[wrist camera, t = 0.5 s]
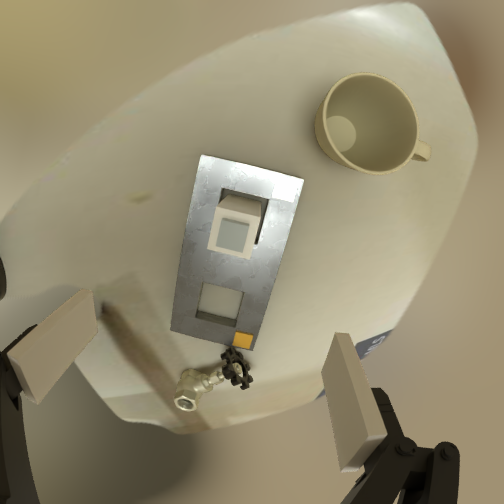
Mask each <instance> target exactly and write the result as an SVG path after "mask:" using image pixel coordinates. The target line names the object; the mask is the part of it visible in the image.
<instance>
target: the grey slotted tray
mask: <svg viewBox="0 0 504 504" xmlns="http://www.w3.org/2000/svg"><path fill="white" fill-rule="evenodd" d="M303 182H304V180H303V179H301V178H297V177H294V176H290V175H286V174H283V173H279V172H275V171H271V170H268V169H264V168H260V167H256V166H252V165H247V164H243V163H239V162H235V161H230V160H226V159H221V158H217V157H212V156H207V155H201V158H200V162H199V166H198V171H197V175H196V180H195V184H194V189H193V194H192V199H191V204H190V209H189V214H188V219H187V224H186V229H185V235H184V240H183V246H182V252H181V258H180V264H179V270H178V277H177V283H176V290H175V297H174V304H173V312H172V320H171V328H170V330H171V331H174V332H178V333H181V334H185V335H189V336H192V337H196V338H200V339H204V340H208V341H212V342H216V343H220V344H224V345H229V346H233V347H237V348H242V349H246V350H251V351H253V348H254V345H255V342H256V339H257V336H258V333H259V330H260V327H261V323H262V320H263V317H264V314H265V311H266V308H267V304H268V301H269V298H270V295H271V292H272V288H273V285H274V282H275V279H276V275H277V272H278V269H279V265H280V262H281V259H282V255H283V252H284V248H285V245H286V242H287V238H288V235H289V231H290V228H291V224H292V221H293V217H294V214H295V210H296V207H297V203H298V200H299V196H300V193H301V189H302V185H303ZM224 188H226V189H230V190H235V191H239V192H243V193H247V194H251V195H255V196H259V197H263V198H267V199H269V200H268V204H267V207H266V211H265V215H264V219H263V223H262V226H261V230H260V234H259V238H258V240H255V242H254V246H253V249H252V253H251V257H250V260H249V259H245V258H241V257H237V256H233V255H229V254H225V253H221V252H217V251H213V250H209V249H207V247H208V242H209V237H210V232H211V228H212V223H213V219H214V214H215V210H216V206H217V205H218V204H219V203H220V201H221V197H222V193H223V189H224ZM203 282H205V283H209V284H213V285H217V286H221V287H225V288H229V289H233V290H237V291H242V292H244V294H243V298H242V302H241V305H240V309H239V313H238V317H237V320H233V319H229V318H225V317H221V316H216V315H212V314H209V313H205V312H201V311H198V308H199V302H200V297H201V292H202V286H203Z"/></svg>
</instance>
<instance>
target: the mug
mask: <svg viewBox="0 0 504 504" xmlns="http://www.w3.org/2000/svg"><path fill="white" fill-rule="evenodd" d="M315 135H316V138H317V141H318V143H319V145H320V147H321V148H322V150H323V151H324V152H325V153H326V154H327V155H328V156H329V157H330V158H331V159H332V160H334V161H335V162H337V163H339V164H341V165H343V166H346V167H348V168H351V169H354V170H357V171H360V172H363V173H367V174H372V175H384V174H389V173H392V172H395V171H397V170H399V169H400V168H402V167H403V166H404V165H406V164H407V163H408V162H409V160H410V159H412V160H417V161H428V160H429V159H430V156H431V147H430V145H428V144H427V143H425V142H423V141H420V140H419V121H418V116H417V113H416V110H415V108H414V106H413V104H412V102H411V100H410V99H409V97H408V96H407V94H406V93H405V92H404V91H403V90H402V89H401V88H400V87H399V86H398V85H397V84H395V83H394V82H393V81H391V80H389V79H388V78H386V77H383V76H381V75H378V74H374V73H368V72H360V73H354V74H350V75H348V76H345V77H343V78H342V79H340V80H339V81H338V82H336V83H335V84H334V85H333V86H332V88H331V89H330V90H329V92H328V94H327V95H326V97H325V98H324V100H323V101H322V103H321V105H320V107H319V109H318V111H317V114H316V117H315Z"/></svg>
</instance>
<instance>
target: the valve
mask: <svg viewBox="0 0 504 504" xmlns="http://www.w3.org/2000/svg"><path fill="white" fill-rule="evenodd" d="M221 359H222V360H224V359H226V362H227V364H226V365H224V366H223V367H222V372H219V371H216V372H214V373H212V374H210V376H207V375H206V374H202V373H201V372H198V371H196V370H193V369H189V370H187V371H185V372H183V373H182V376H181V380H180V381H179V383H178V384H177V388H176V391H177V392H176V394H175V397H174V402H175V405H176V406H177V407H178V408H179V409H181V410H184V411H193V410H195V409H197V408H198V404H199V399H200V398H201V396H202V393H207V392H210V391H212V389H213V385H214V384H216V385H217V384H220V383H222V382H223V381H224V378H226V379H228V380H229V379H231V383H232V385H233V386H236V385H238V384H240V383H242V386H240V388H241V389H242V390H245V389H247V388H249V383H251V382H253V378H252V376H250V375H249V374H248V371H249V370H250V366H249V365H248V364H244V362H243V360H242V359H243V355H242V354H241V353H240V352H239V353H237V354H235V350H234V348H232V347H230V348H228V349H226V352H224V353H222V354H221ZM232 359H234V360H233V361H232ZM242 372H243V378H242V377H240V376H239V374H241V373H242Z"/></svg>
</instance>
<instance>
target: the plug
mask: <svg viewBox="0 0 504 504" xmlns="http://www.w3.org/2000/svg"><path fill="white" fill-rule="evenodd" d="M260 219H261V202H260V201H256V200H252V199H248V198H244V197H240V196H236V195H232V194H228V195H227V196H226V197H225V198H224V199H223V200H222V201H221V202H220V203H219V204H218V205H217V206H216V210H215V214H214V219H213V223H212V228H211V232H210V237H209V242H208V247H207V249H209V250H213V251H217V252H221V253H225V254H229V255H233V256H237V257H241V258H245V259H249V260H250V257H251V253H252V249H253V246H254V242H255V238H256V234H257V230H258V227H259V223H260Z"/></svg>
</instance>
